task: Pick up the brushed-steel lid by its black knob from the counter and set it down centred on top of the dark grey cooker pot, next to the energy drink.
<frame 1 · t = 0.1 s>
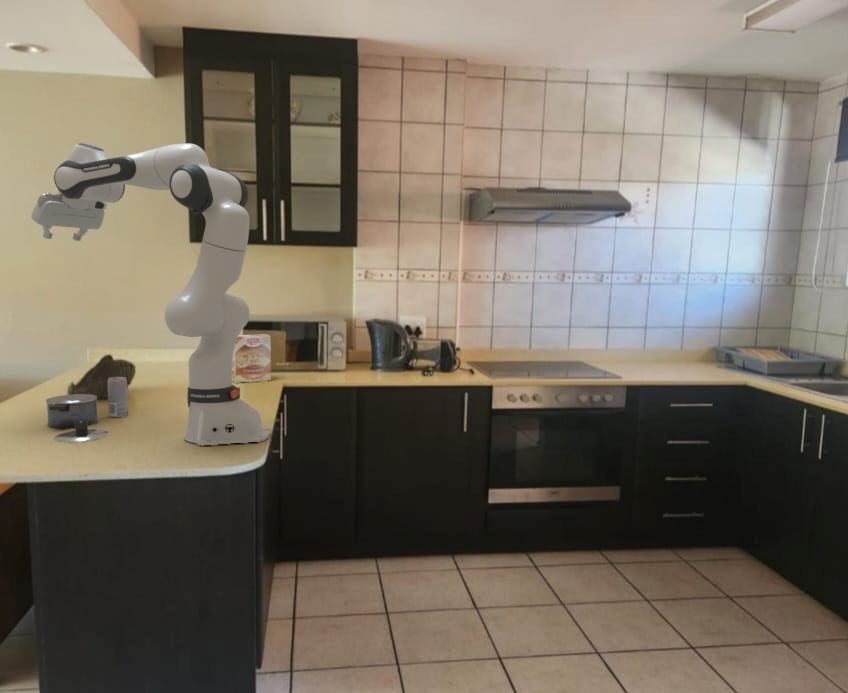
hand: (61, 238, 184), 54 cm above the worktop, tool tilted 30°, fingers open, 8 cm apart
lid: (81, 438, 167), on the worktop
coffeecake box: (251, 381, 258), on the worktop
pot: (73, 423, 181), on the worktop
energy drink: (118, 416, 192), on the worktop
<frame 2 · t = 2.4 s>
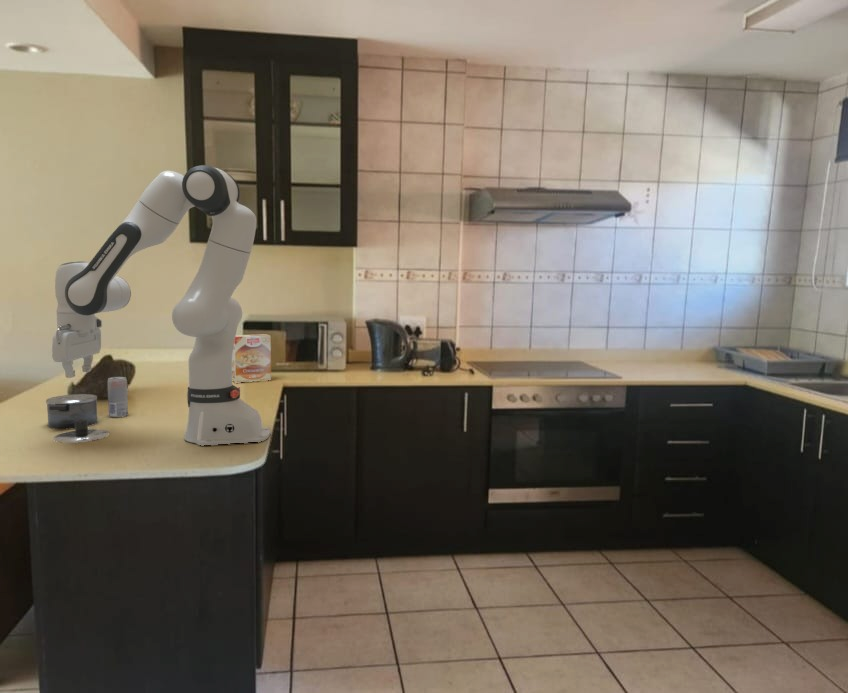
hand: (78, 374, 165), 17 cm above the worktop, tool pointing down, fingers open, 8 cm apart
nothing on the worktop moved.
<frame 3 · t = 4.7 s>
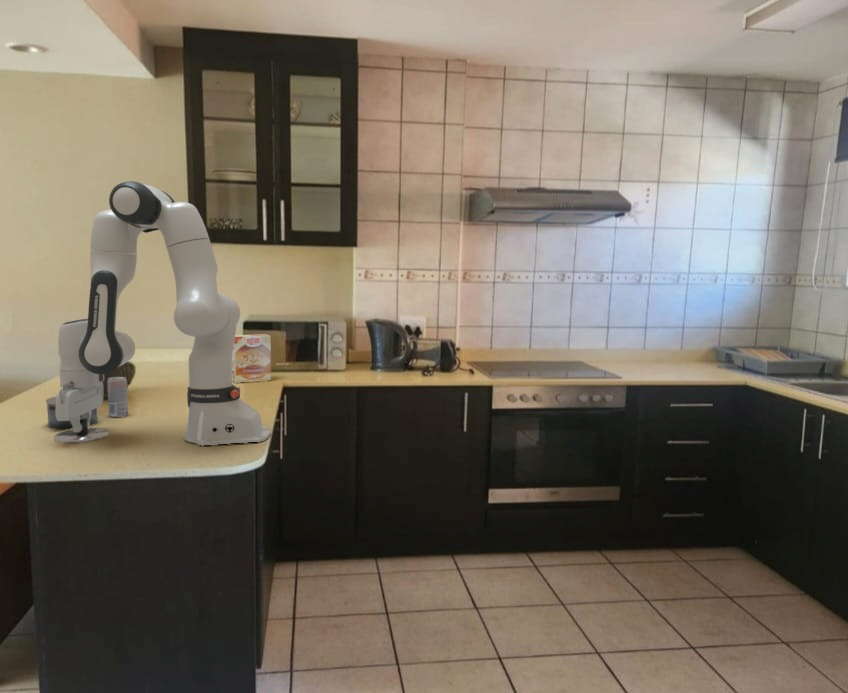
hand: (81, 429, 167), 2 cm above the worktop, tool pointing down, fingers closed on lid, 3 cm apart
lid: (81, 436, 167), on the worktop, touching gripper
everything else where it was.
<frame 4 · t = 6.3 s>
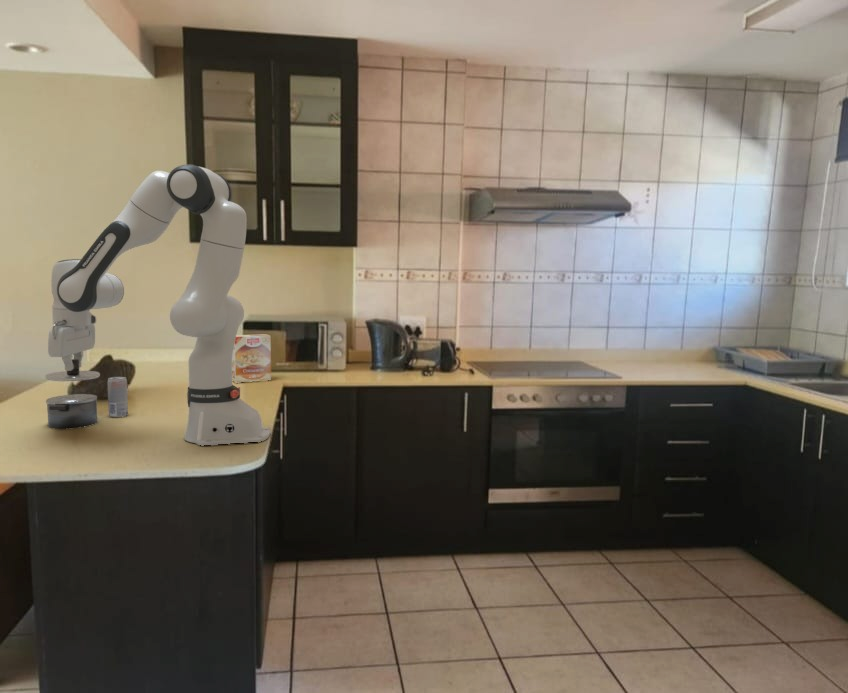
hand: (73, 369, 169), 18 cm above the worktop, tool pointing down, fingers closed on lid, 3 cm apart
lid: (73, 377, 170), point 16 cm above the worktop, touching gripper
everything else where it was.
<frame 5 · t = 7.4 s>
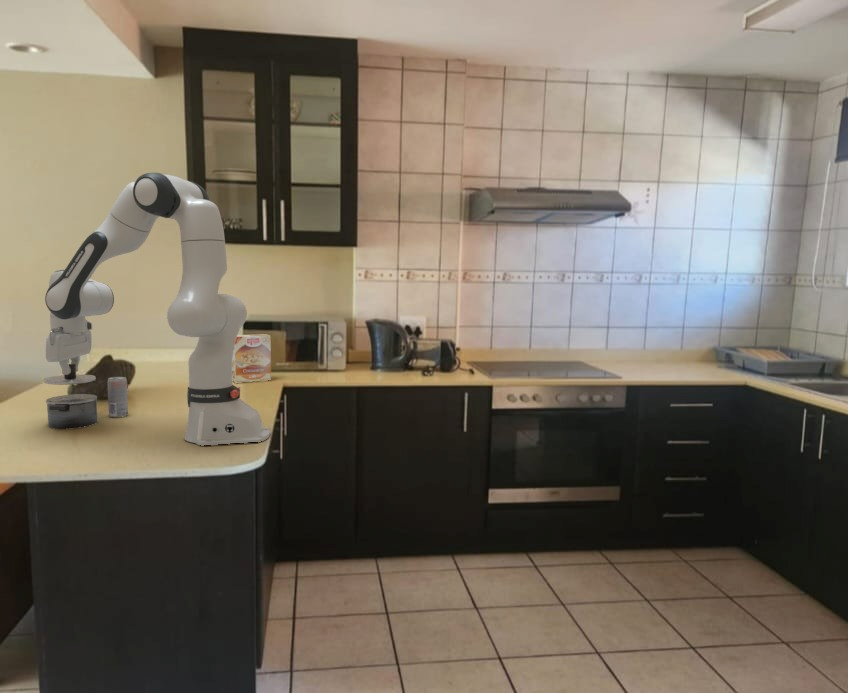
hand: (70, 373, 179), 15 cm above the worktop, tool pointing down, fingers closed on lid, 3 cm apart
lid: (70, 380, 180), point 13 cm above the worktop, touching gripper
everything else where it was.
when the fingers open (11 cm above the worktop, at t = 8.2 s): lid drops 1 cm, resting on pot.
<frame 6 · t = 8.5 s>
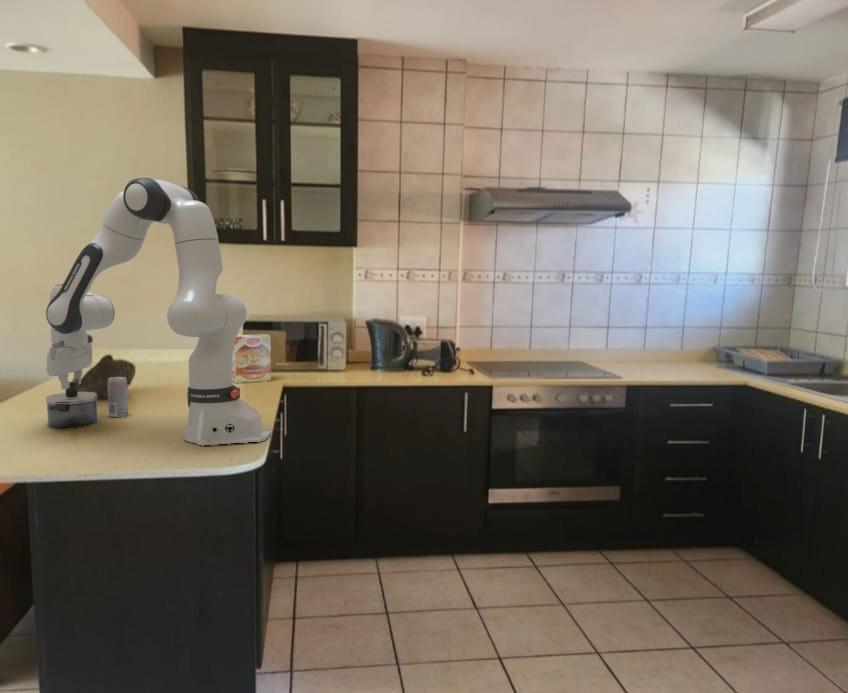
hand: (71, 386, 180), 11 cm above the worktop, tool pointing down, fingers open, 5 cm apart
lid: (71, 398, 180), point 8 cm above the worktop, touching pot
everything else where it was.
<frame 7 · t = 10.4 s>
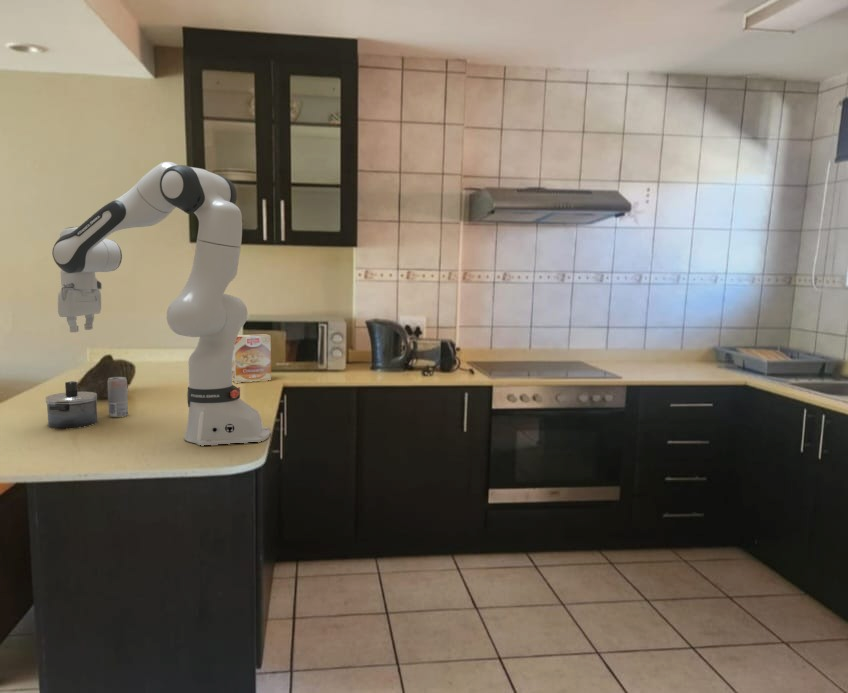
hand: (81, 330, 181), 27 cm above the worktop, tool pointing down, fingers open, 8 cm apart
nothing on the worktop moved.
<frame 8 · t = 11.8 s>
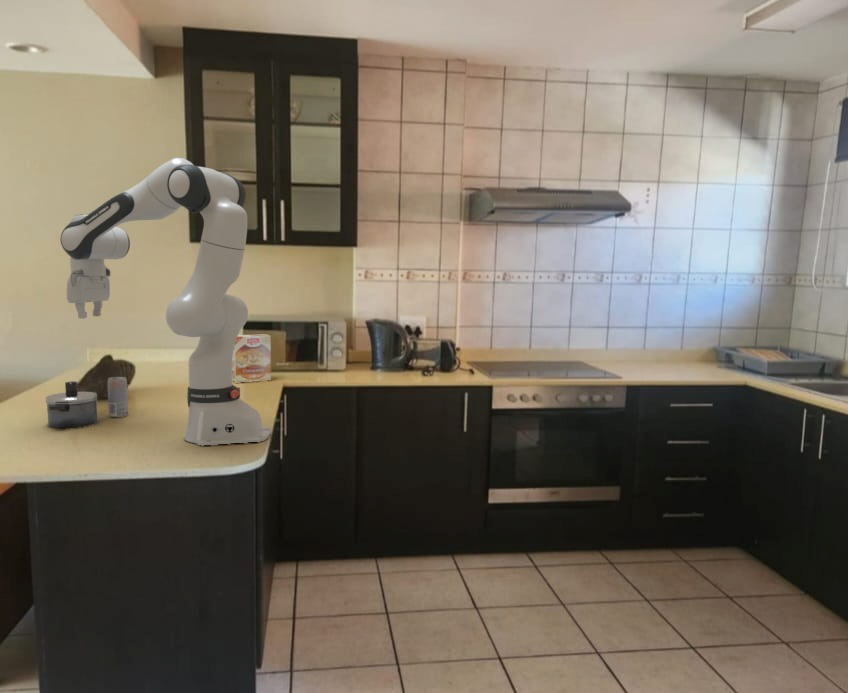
hand: (89, 317, 183), 31 cm above the worktop, tool pointing down, fingers open, 8 cm apart
nothing on the worktop moved.
at the end: lid 0.0 cm from the pot (horizontally); lid 0.0 cm off-centre on the pot, point 7.6 cm above the pot's base; lid tilted 0° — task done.
